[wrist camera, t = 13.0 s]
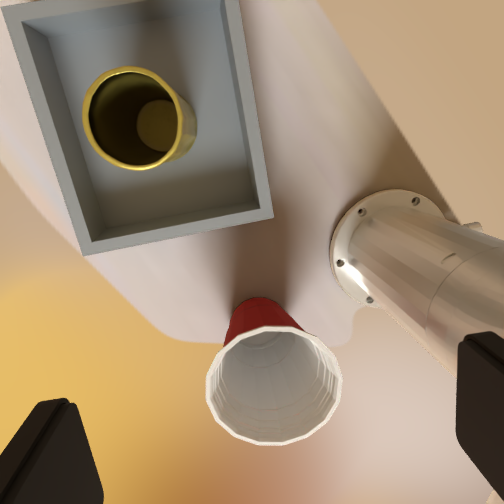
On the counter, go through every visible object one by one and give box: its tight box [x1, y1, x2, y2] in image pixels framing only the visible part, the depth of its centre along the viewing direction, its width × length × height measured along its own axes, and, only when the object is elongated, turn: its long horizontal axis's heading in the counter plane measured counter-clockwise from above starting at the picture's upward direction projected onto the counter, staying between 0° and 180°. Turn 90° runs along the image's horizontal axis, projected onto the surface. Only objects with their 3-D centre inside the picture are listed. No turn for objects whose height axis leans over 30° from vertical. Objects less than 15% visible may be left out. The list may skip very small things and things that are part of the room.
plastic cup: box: [206, 298, 343, 445], centre depth 35 cm, size 11×11×12 cm
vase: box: [82, 66, 197, 171], centre depth 27 cm, size 6×6×14 cm
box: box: [1, 0, 274, 256], centre depth 32 cm, size 16×18×6 cm
